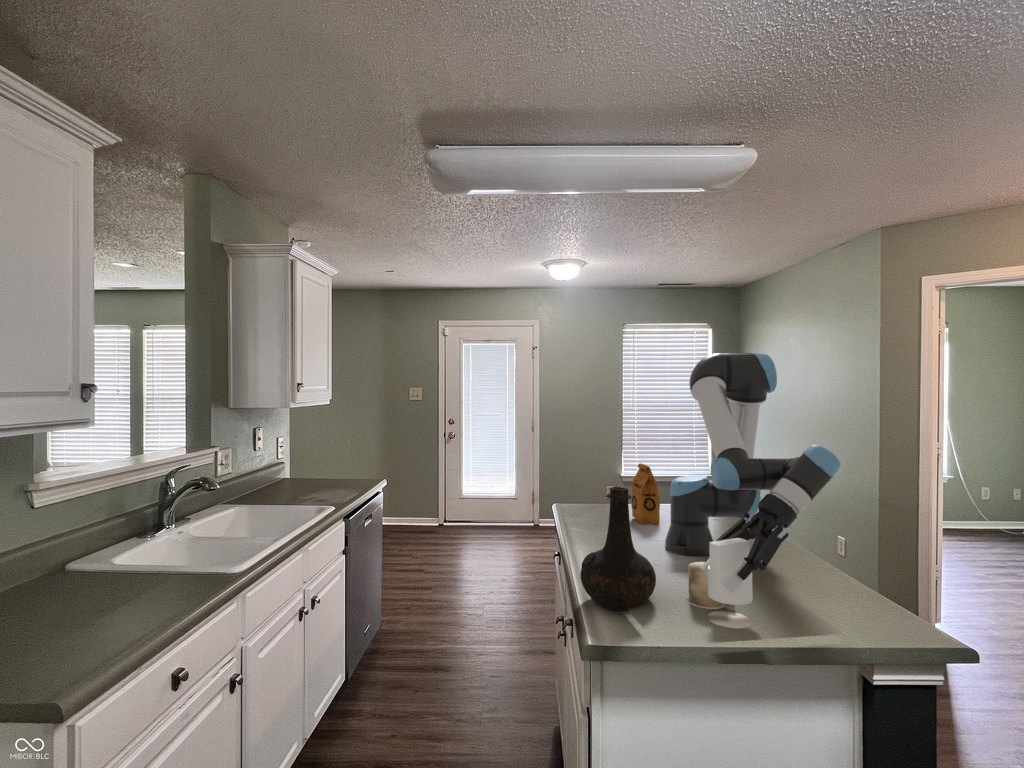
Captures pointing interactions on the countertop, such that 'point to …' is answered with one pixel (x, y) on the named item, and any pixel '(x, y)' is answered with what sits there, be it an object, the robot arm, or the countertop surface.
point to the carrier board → (727, 617)
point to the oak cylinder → (700, 587)
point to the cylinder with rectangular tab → (728, 571)
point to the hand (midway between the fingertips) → (715, 579)
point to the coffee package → (645, 497)
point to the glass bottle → (618, 562)
